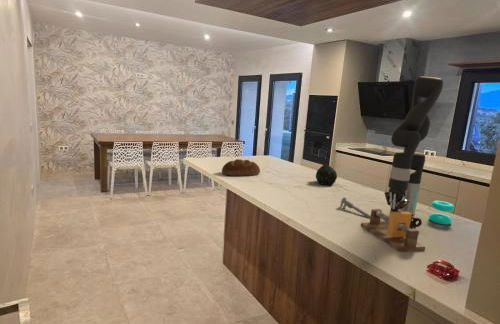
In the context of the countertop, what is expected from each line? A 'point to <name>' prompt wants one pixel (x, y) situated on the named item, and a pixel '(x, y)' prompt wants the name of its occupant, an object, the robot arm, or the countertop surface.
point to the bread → (240, 168)
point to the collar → (395, 220)
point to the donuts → (441, 217)
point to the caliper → (350, 205)
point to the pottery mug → (413, 223)
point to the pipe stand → (396, 242)
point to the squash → (326, 175)
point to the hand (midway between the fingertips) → (393, 216)
